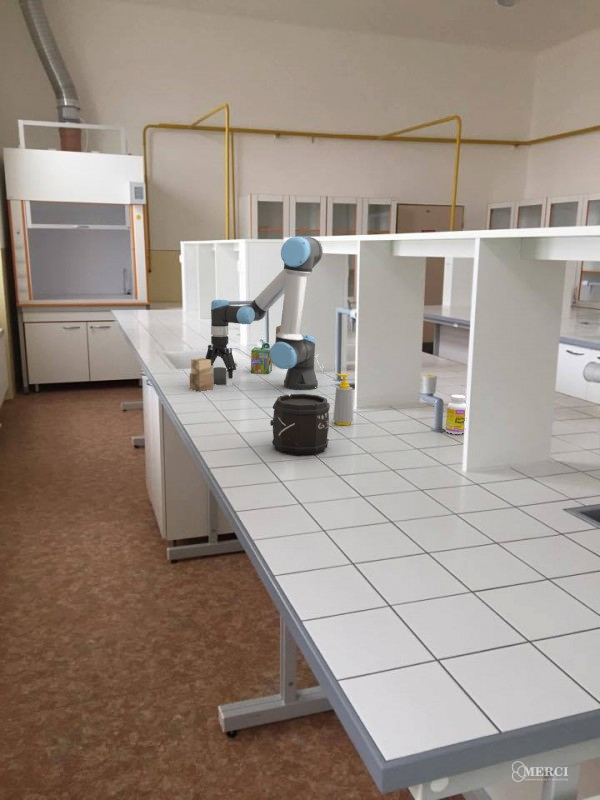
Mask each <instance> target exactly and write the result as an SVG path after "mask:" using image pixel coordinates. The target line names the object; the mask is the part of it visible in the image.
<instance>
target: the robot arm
mask: <svg viewBox="0 0 600 800" xmlns="http://www.w3.org/2000/svg"><path fill="white" fill-rule="evenodd" d="M323 250H324V249H323V246H322V243H320V241H319V240H317V238H315V237H312V236H307V237H306V236H298V235H297V236H292V237H290V238H288V239H286V241H284V243H283V245H282V246H281V249H280V257H281V259H282V261H283V269H282V270H281V271H280V272H279V273H278V274H277V275H276V276H275V277H274V279H273V280H272V281H270V283H269V284H268V285H267V286H266V287H265V288H264V289H263V290H262V291H261V292H260V293H259V294H258V296H256V298H255V299H254V300H253V301H251V303H250V304H245V305H243V304H242V305H231V304H229V300H226V299H213V300H211V303H210V304H211V305H210V306H211V307H210V315H211V317H210V319H211V321H210V323H211V324H210V326H211V327H210V334H211V337H210V338H211V339H210V343H211V344H208V345H207V352H206V354H205V359H209V360H211V374H213V382H214V368H215V367H214V363H215V362H216V359H217V358H218V357H219V358H221V359H222V361H223V364H224V365H225V368H226V384H225V386H226V387H230V386H233V377H234V374H233V373H234V371H236V370H237V365H236V362H235V359H234V355H233V349H232V347H229V348H228V347H227V346H228V345H229V336H228V335H229V323H231V324H241V325H251V324H252V323H253V322H259V321H260V320H263V319H264V318H265V317H266V315H267V312H268V311H269V310H270V309H271V308H272V306H274V305H275V304H276V302H278V300H279V299H280V298H282V296H283V303H282V311H281V312H282V314H281V321H280V325H281V328H280V332H279V333H277V334H276V333H275V343H274V344H273V345H272V346H271V347H270V348H271V349H270V358H271V361H272V364H273V365H274V366H275V367H276V368H278V369H281V370H287V371H286V374H285V377H284V380H283V387H284V388H285V389H288V390H297V389H299V390H302V389H308V390H312V389H311V388H315V387H317V386H318V384H319V383H318V382H319V381H318V379H317V374H315V373H316V372H315V371H316V370H315V364H314V363H315V361H316V358H315V357H316V337H314V336H312V335H307V334H306V335H305V334H302V324H303V317H304V316H303V315H304V310H305V309H304V308H305V301H306V300H305V299H306V294H307V293H306V291H307V285H308V284H307V283H308V276H309V275H311V274H312V272H313V269H314V267H316V266H317V264H318V263H320V261H321V260H322V257H323V253H324V252H323ZM317 388H318V387H317ZM315 389H316V388H315Z"/></svg>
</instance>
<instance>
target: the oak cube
mask: <svg viewBox="0 0 600 800" xmlns="http://www.w3.org/2000/svg"><path fill="white" fill-rule="evenodd" d="M205 358H206V357H205ZM205 358H204V357H200V358H191V359H190V373H192V374H196V375H199V376H200V375H207V374H211V360H209V359H205Z"/></svg>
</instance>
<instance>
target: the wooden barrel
mask: <svg viewBox="0 0 600 800" xmlns="http://www.w3.org/2000/svg"><path fill="white" fill-rule="evenodd" d="M330 408H331V405H330V403H329V402H328V399H327V398H326V397H323V396H320V395H318V394H309V393H290V395H289V394H284V395H280V396H278V397H277V398H276V400H275V402H274V403H273V404H272V409H273V417H272V419H270V422H269V424H270V426H271V427H272V438H273V439H272V440H271V443H272V445H273V446H274V449H275V450H276V451H277V452H279V453H280V454H283V455H288V456H294V457H312V456H313V457H314V456H316V455H320V454H322V453H325V449H326V448H328V444H329V440H330V439H329V438H328V434H329V423H330V414H329V411H330Z"/></svg>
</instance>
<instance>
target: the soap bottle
mask: <svg viewBox="0 0 600 800" xmlns="http://www.w3.org/2000/svg"><path fill="white" fill-rule="evenodd" d="M349 375H350V373H334V376H337V377H342V379H343V381H341V382H340V384H339V386H336V387H335V397H334V399H335V400H334V408H333V421H334V424H336V425H337V426H349V425H350V426H351V424H352V422H353V420H354V419H353V418H354V417H353V416H354V415H353V413H354V411H353V407H354V404H353V399H354V398H353V395H354V394H353V392H354V391H353V386H350V384H349V382H348V381H347V379H348V376H349Z"/></svg>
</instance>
